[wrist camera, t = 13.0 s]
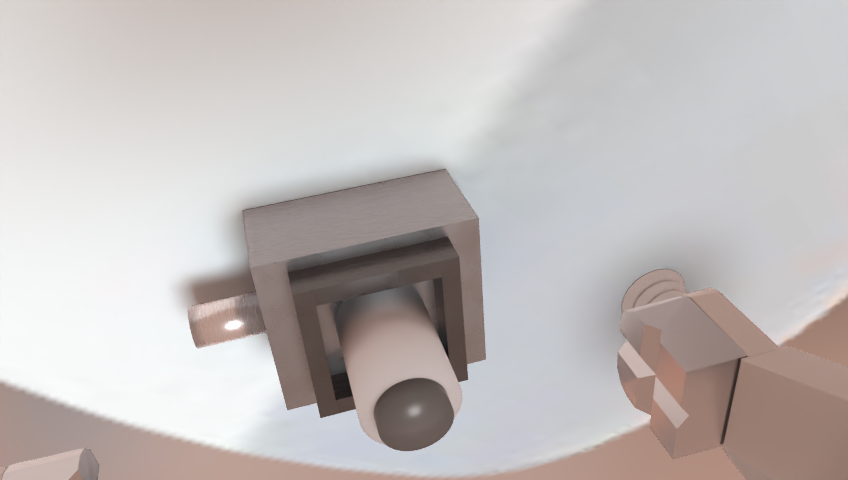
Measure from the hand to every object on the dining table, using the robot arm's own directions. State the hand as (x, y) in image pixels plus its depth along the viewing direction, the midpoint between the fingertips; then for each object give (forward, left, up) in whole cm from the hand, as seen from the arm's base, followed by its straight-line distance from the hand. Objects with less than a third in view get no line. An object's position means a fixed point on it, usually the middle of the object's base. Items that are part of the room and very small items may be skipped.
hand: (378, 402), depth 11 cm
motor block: (-1, +17, -29) cm, 34 cm away
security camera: (-3, +17, -23) cm, 29 cm away
